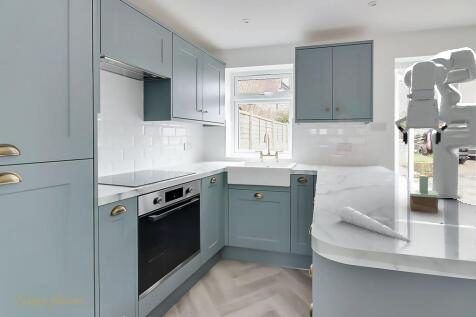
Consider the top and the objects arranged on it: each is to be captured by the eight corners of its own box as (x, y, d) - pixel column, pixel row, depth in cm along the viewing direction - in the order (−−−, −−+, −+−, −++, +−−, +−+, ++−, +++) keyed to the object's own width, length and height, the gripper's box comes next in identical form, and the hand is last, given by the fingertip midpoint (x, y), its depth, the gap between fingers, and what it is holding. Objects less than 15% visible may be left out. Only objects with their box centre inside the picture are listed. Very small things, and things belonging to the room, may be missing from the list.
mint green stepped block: (409, 194, 118) (409, 173, 118) (435, 196, 114) (435, 174, 114) (410, 199, 108) (410, 176, 108) (439, 201, 104) (439, 177, 104)
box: (409, 207, 118) (409, 191, 118) (434, 208, 115) (434, 192, 114) (410, 212, 108) (411, 195, 108) (437, 214, 105) (438, 197, 105)
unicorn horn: (398, 244, 75) (398, 224, 75) (338, 221, 98) (338, 206, 97) (413, 242, 76) (413, 223, 76) (350, 220, 99) (351, 205, 99)
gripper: (395, 96, 111) (394, 143, 112) (453, 93, 104) (451, 144, 104) (395, 99, 118) (394, 144, 119) (449, 97, 110) (448, 144, 111)
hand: (421, 144), depth 111 cm, fingers open, 9 cm apart
